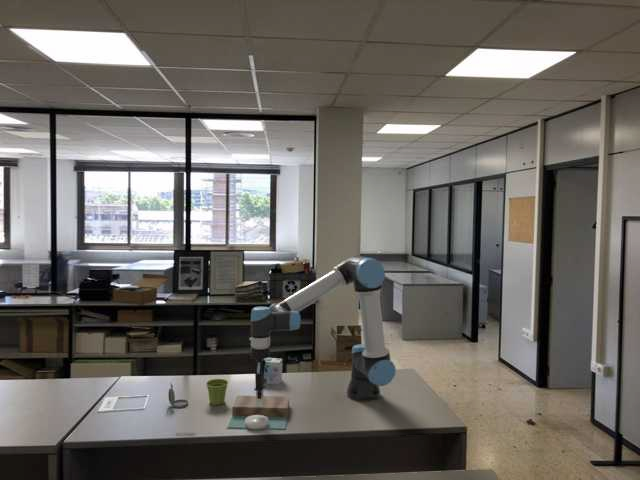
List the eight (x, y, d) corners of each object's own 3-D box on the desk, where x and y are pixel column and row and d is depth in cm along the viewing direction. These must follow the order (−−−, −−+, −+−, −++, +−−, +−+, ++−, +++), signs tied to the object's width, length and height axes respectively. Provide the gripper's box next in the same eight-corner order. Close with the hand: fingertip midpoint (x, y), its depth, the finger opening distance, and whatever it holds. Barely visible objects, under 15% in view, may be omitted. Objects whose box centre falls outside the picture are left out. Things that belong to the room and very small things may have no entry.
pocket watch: (191, 403, 205) (191, 380, 205) (177, 410, 198) (177, 386, 197) (176, 400, 209) (176, 377, 208) (162, 407, 201) (162, 383, 201)
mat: (287, 417, 194) (287, 416, 194) (285, 429, 183) (285, 428, 183) (232, 416, 194) (232, 415, 193) (227, 428, 183) (227, 427, 183)
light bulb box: (257, 383, 232) (257, 360, 231) (261, 378, 239) (261, 356, 238) (278, 384, 230) (279, 362, 230) (282, 380, 237) (282, 358, 236)
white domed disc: (269, 419, 191) (269, 415, 191) (267, 429, 182) (267, 425, 182) (246, 419, 191) (246, 414, 191) (243, 429, 182) (243, 424, 182)
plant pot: (223, 407, 202) (223, 387, 201) (202, 405, 204) (202, 385, 203) (231, 399, 211) (231, 380, 211) (211, 397, 213) (211, 377, 212)
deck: (289, 405, 206) (289, 396, 205) (287, 417, 194) (287, 408, 193) (237, 404, 205) (237, 395, 205) (232, 416, 194) (232, 406, 193)
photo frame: (105, 396, 209) (149, 394, 213) (105, 399, 209) (149, 396, 213) (97, 410, 194) (145, 407, 198) (97, 413, 194) (145, 410, 199)
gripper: (253, 342, 196) (252, 399, 197) (248, 351, 183) (247, 412, 184) (271, 342, 196) (270, 399, 197) (268, 351, 183) (267, 412, 184)
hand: (259, 405), depth 191 cm, fingers closed
